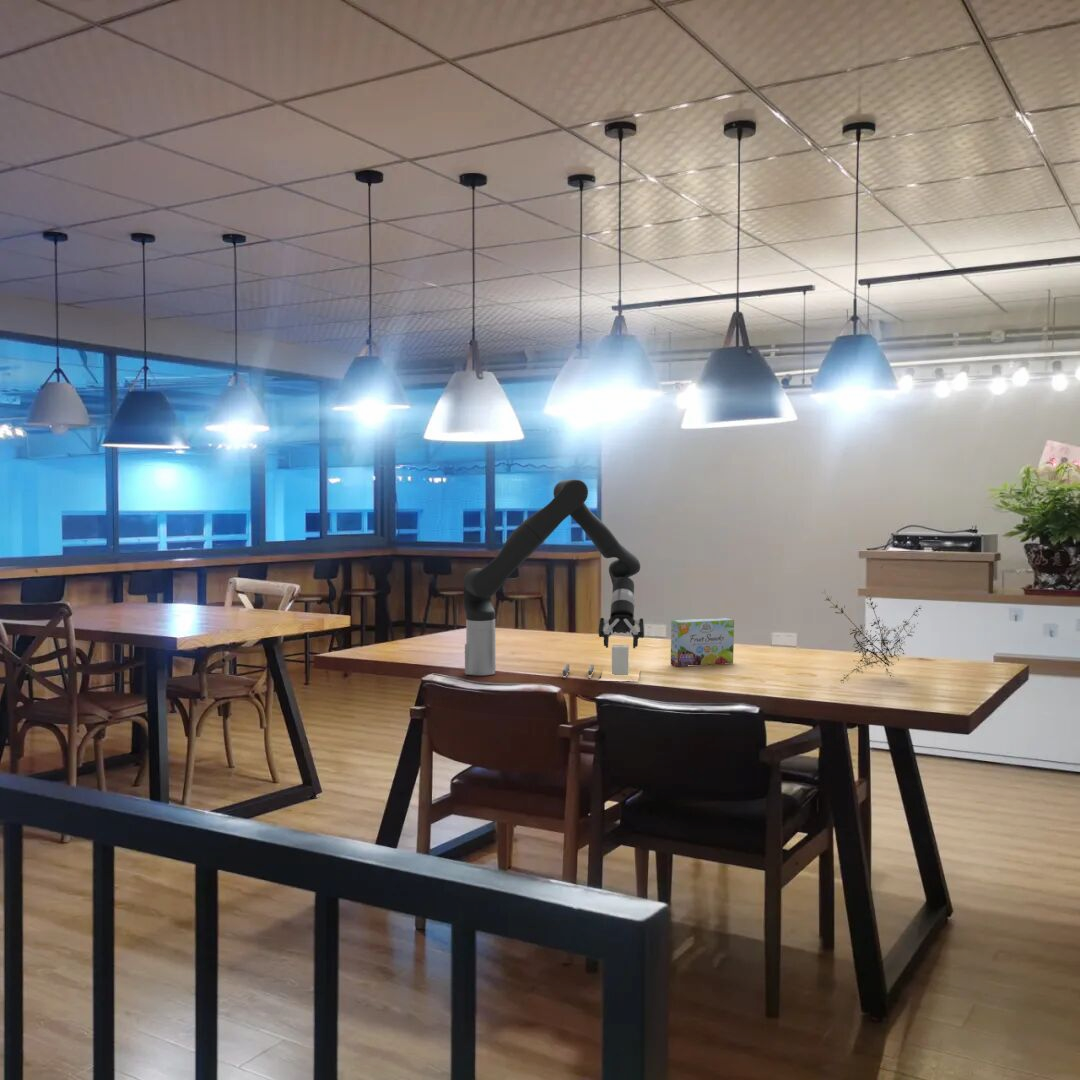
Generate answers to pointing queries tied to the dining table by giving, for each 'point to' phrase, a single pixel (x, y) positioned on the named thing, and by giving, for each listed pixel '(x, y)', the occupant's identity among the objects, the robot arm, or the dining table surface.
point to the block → (620, 659)
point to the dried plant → (875, 640)
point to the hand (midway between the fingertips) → (620, 646)
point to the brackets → (568, 670)
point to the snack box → (702, 641)
